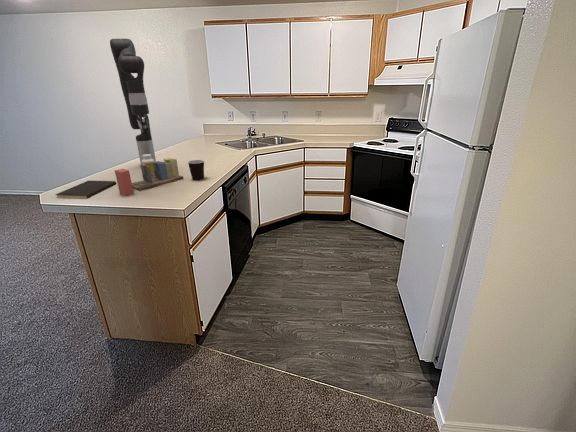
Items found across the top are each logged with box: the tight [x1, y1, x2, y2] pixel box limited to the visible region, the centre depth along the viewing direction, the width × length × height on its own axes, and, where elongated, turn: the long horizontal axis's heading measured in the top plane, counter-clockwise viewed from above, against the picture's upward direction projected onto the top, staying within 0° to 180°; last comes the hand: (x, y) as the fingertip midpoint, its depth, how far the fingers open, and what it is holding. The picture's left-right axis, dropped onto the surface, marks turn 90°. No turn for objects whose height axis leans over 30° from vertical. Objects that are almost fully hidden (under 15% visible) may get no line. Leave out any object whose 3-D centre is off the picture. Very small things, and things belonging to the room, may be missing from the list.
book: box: [114, 168, 135, 197], centre depth 149 cm, size 6×4×12 cm, turn 53°
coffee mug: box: [187, 159, 205, 182], centre depth 174 cm, size 12×9×10 cm
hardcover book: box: [54, 180, 118, 199], centre depth 157 cm, size 16×23×2 cm
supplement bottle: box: [142, 154, 155, 178], centre depth 177 cm, size 7×7×13 cm
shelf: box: [132, 157, 184, 192], centre depth 166 cm, size 12×26×11 cm, turn 143°
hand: (145, 138), depth 150 cm, fingers open, 8 cm apart
